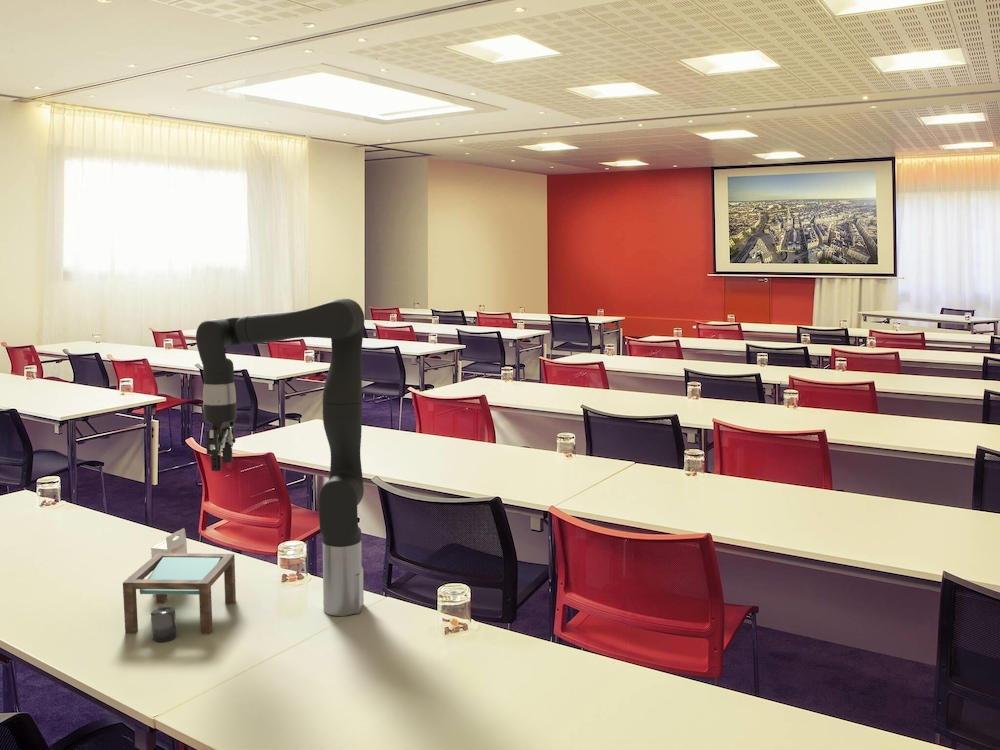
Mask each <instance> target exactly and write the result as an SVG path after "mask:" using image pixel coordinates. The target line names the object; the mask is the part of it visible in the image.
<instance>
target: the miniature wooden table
mask: <svg viewBox="0 0 1000 750" xmlns="http://www.w3.org/2000/svg"><path fill="white" fill-rule="evenodd" d="M163 557H195V558H221V560H220V561H219V562H218V563H217V564H216V565H215V566H214V568H213V569H212V570H211V571H210V572H209V573H208V574H207V575H206V576H205V577H204V578H203V579H202V580H154V579H148V578H147V579H145V578H146V577H147V576H149V574H150V575H151V573H152V572H153V570H154V569H155V568H156V566H157V565H158V564H159V562H160V561H161V560H162V558H163ZM235 560H236V559H235V553H188V552H187V553H157V554H156V555H155V556H153V557H152V556H151V558H150V559H149V560H148V561H146V562H145V563H144V564H142V566H140V568H138V569H137V570H136V571H134V572H133V573H132V574H131V575H130V576H128V577H127V578H126V579H124V581H123V582H122V591H123V592H122V595H123V611H124V613H123V615H124V616H123V618H124V633H125V634H135V633H136V632H138V630H139V625H138V624H139V621H138V619H139V618H138V607H137V606H138V603H137V602H138V601H137V590H140V589H172V590H199V595H198V599H199V601H198V602H199V622H200V623H199V624H200V626H199V629H200V635H211V633H213V632H212V631H213V610H212V609H213V607H212V606H213V605H212V604H213V603H212V602H213V601H212V586H213V585H214V584H215V583H216V582H217V580H218V579H219V578H220V577H221V576H222V575H224V576H223V579H224V603H225V604H234V603H235V602H236V601H237V598H236V595H237V594H236V564H235ZM167 600H168V594H155V603H156V604H157V603H158V604H161V603H163V604H164V603H166V602H167Z"/></svg>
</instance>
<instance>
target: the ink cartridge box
mask: <svg viewBox="0 0 1000 750" xmlns="http://www.w3.org/2000/svg"><path fill="white" fill-rule="evenodd" d="M187 544H188V542H187V537H186V529H185V528H184V527H183V528H181V529H180V530H177V531H175V532H174V533H171V534H170V535H168V536H166V538H165V540H164V541H161V542H160V543H158V544H155V545H154V546H152V547H150V550H151V552H150V554H151V558H152V557H153V556H155V555H156V554H157V553H188V548H187V546H188V545H187ZM153 571H154V570H153ZM153 571H152V572H153Z"/></svg>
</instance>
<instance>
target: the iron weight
mask: <svg viewBox="0 0 1000 750" xmlns="http://www.w3.org/2000/svg"><path fill="white" fill-rule="evenodd" d="M176 618H177V617H176V609H175V608H173V607H159V608H157V609H154V610H153V611H151V612H150V623H151V634H152V638H151V639H152V641H153V642H155V643H158V644H160V643H163V644H164V643H168V642H171V641H173V640H174V639H176V638H177V635H178V634H177V622H176V621H177V620H176Z"/></svg>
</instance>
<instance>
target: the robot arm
mask: <svg viewBox="0 0 1000 750" xmlns="http://www.w3.org/2000/svg"><path fill="white" fill-rule="evenodd" d="M364 329H365V314H364V311H363V308H362V307H361V306H360V304H359V303H358V302H357V301H355V300H353V299H350V298H340V299H338V298H337V299H332V300H330V301H327V302H325V303H322V304H318V305H315V306H312V307H310V308H305V309H300V310H299V309H298V310H294V311H282V312H280V311H277V312H275V311H273V312H262V313H261V312H260V313H256V314H255V313H254V314H247V315H243V316H238V317H237V316H235V317H234V316H233V317H224V318H223V317H222V318H215V319H207V320H204V321H202V322H201V323H200V324H199V325H198V326H197V329H196V332H195V333H196V334H195V341H196V343H195V344H196V346H197V351H198V354H199V358H200V361H201V364H202V367H203V368H202V374H203V387H202V388H203V390H202V399H203V400H202V401H203V404H202V406H203V419H204V421H205V422H206V423H211V429H206V455H207V456H210V463H211V464H210V465H211V467H210V468H211V471H212V472H220V471H221V470H223V467H222V462H223V463H225V464H226V463H227V464H230V463H233V447H234V444H235V443H236V430H235V421H236V420H237V419H238V418H237V393H236V386H235V369H234V362H233V360H231V359H230V358H227V354H226V350H225V348H227V347H228V348H229V347H232V346H239V345H258V344H267V343H275V342H280V341H284V340H285V341H286V340H291V339H299V338H319V339H321V338H322V339H331V341H330V342H331V356H330V358H331V359H330V365H329V368H328V372H327V375H326V378H325V382H324V386H323V390H322V391H323V392H322V422H323V428H324V431H325V435H326V439H327V442H328V446H329V450H330V451H329V453H330V466H329V467H330V469H329V478H328V480H327V481H326V482H325V483H324V484H323V485H322V487H321V489H320V490H319V494H318V520H319V523H318V524H319V531H320V534H321V537H322V539H321V540H322V576H323V577H322V587H323V588H322V590H323V591H322V594H323V595H322V596H323V598H322V599H323V601H322V602H323V603H322V604H323V612H324V613H326V614H327V615H330V616H335V617H345V616H351V615H354V614H355V615H356V614H361V611H362V608H363V606H364V600H365V599H364V598H365V597H364V567H363V566H362V564H363V563H362V529H361V528H360V526H359V523H358V519H359V518H358V505H359V504H360V503H361V501H362V499H363V497H364V494H365V493H364V492H365V490H364V489H365V488H364V480H363V479H364V478H363V469H362V460H361V447H362V444H361V443H362V431H363V430H362V425H363V421H362V420H363V394H362V393H363V392H362V390H363V389H362V388H363V387H362V383H363V382H362V351H363V350H362V347H363V339H364Z"/></svg>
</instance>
